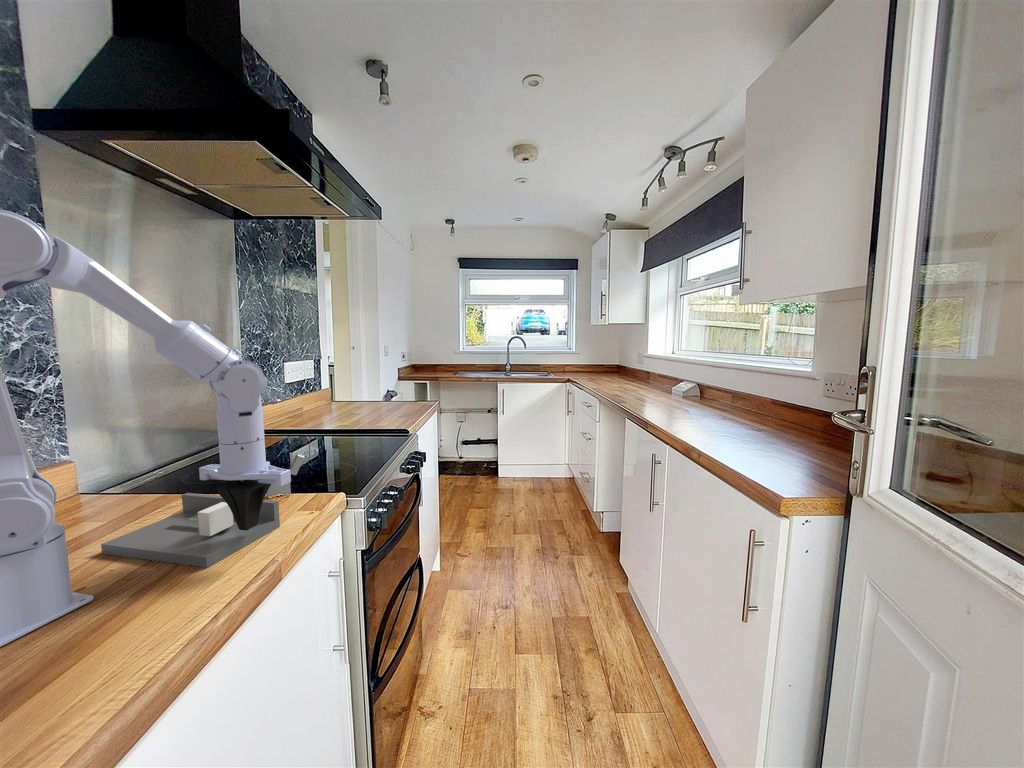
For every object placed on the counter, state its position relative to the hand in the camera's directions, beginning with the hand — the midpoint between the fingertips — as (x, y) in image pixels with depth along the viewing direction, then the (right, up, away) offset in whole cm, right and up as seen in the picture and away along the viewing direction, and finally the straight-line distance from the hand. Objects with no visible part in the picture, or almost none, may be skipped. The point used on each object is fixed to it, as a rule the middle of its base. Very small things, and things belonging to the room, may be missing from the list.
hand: (248, 527), depth 61 cm
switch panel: (-10, -3, +2) cm, 10 cm away
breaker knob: (-6, -1, +1) cm, 6 cm away
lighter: (-7, -1, +22) cm, 23 cm away
